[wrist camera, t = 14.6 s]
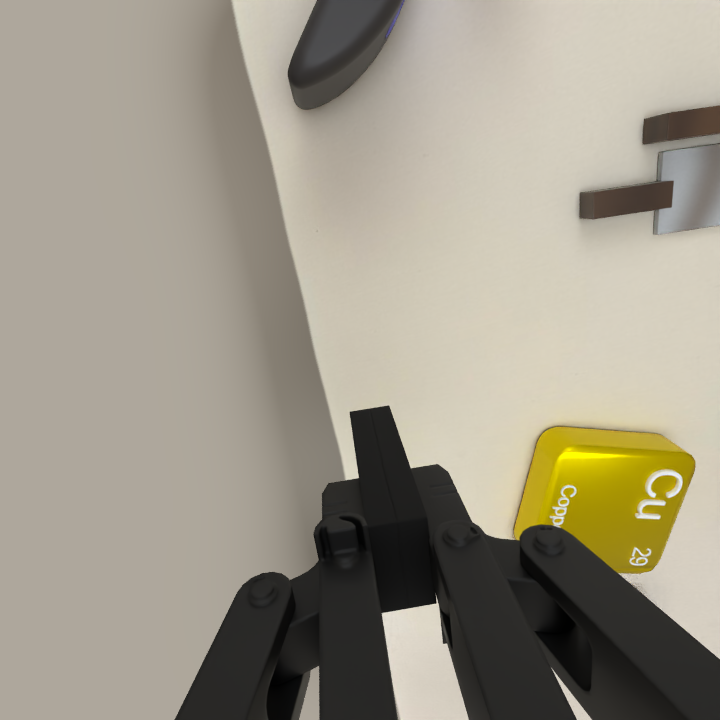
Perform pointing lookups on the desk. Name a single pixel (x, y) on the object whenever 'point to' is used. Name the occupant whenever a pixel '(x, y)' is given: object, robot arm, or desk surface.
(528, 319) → the desk surface
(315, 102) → the leaning round-cornered charcoal block
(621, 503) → the element tile
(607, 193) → the spatula
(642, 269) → the desk surface
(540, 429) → the desk surface
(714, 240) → the desk surface
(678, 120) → the corner stop
